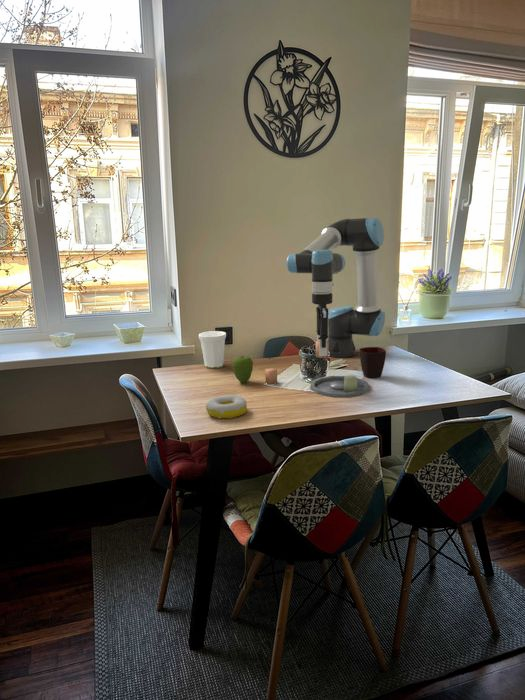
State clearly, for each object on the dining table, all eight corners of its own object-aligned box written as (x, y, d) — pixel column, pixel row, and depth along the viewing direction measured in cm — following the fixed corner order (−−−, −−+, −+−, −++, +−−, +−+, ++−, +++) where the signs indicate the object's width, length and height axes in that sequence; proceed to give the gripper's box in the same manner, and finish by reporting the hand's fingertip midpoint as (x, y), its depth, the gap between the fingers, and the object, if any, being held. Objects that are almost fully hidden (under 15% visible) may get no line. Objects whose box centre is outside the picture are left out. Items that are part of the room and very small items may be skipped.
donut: (205, 421, 168) (204, 407, 166) (207, 407, 181) (206, 394, 180) (247, 419, 168) (246, 405, 167) (246, 405, 182) (246, 392, 180)
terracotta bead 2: (313, 356, 191) (313, 342, 190) (319, 354, 195) (320, 340, 193) (324, 358, 188) (324, 344, 187) (330, 355, 192) (330, 341, 190)
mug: (365, 382, 203) (366, 353, 200) (352, 373, 216) (353, 345, 213) (388, 380, 204) (389, 351, 202) (374, 371, 218) (375, 344, 215)
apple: (244, 377, 214) (243, 351, 211) (258, 381, 208) (257, 354, 205) (228, 382, 208) (227, 355, 205) (242, 386, 202) (241, 359, 199)
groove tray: (301, 385, 201) (300, 380, 200) (348, 378, 209) (348, 373, 208) (328, 403, 181) (328, 397, 181) (379, 394, 189) (379, 388, 188)
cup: (196, 369, 228) (194, 336, 225) (206, 361, 240) (205, 330, 236) (221, 370, 225) (220, 337, 221) (231, 363, 236) (229, 331, 233)
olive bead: (341, 390, 191) (341, 376, 189) (352, 389, 192) (352, 375, 191) (348, 394, 186) (348, 380, 185) (359, 392, 188) (359, 378, 187)
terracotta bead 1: (263, 382, 207) (263, 369, 206) (274, 380, 209) (274, 367, 208) (268, 385, 203) (267, 372, 202) (279, 383, 205) (278, 370, 203)
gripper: (336, 295, 177) (335, 359, 183) (328, 289, 194) (328, 348, 200) (315, 296, 177) (315, 360, 183) (309, 289, 194) (309, 348, 200)
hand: (322, 353), depth 191 cm, fingers closed on terracotta bead 2, 5 cm apart
